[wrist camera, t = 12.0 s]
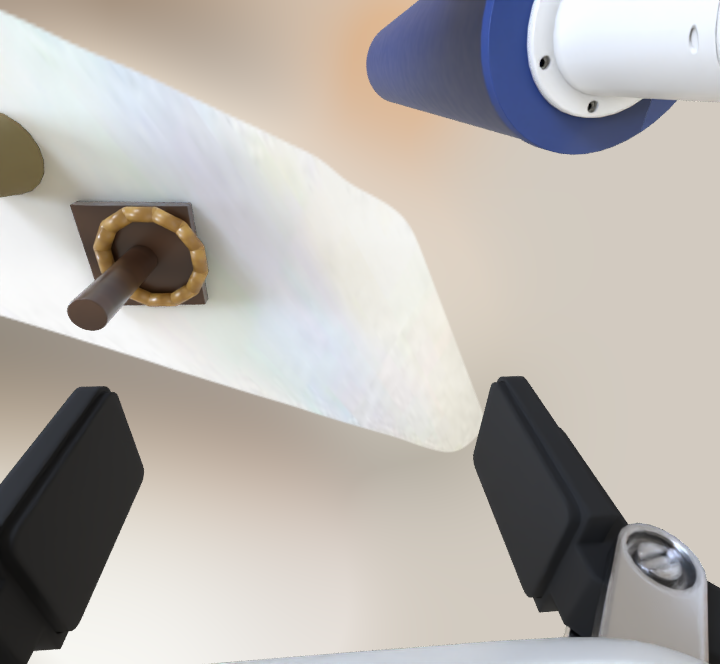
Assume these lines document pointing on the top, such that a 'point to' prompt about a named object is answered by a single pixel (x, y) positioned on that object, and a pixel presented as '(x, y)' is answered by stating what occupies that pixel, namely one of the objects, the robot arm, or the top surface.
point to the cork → (18, 159)
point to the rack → (131, 261)
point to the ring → (169, 222)
